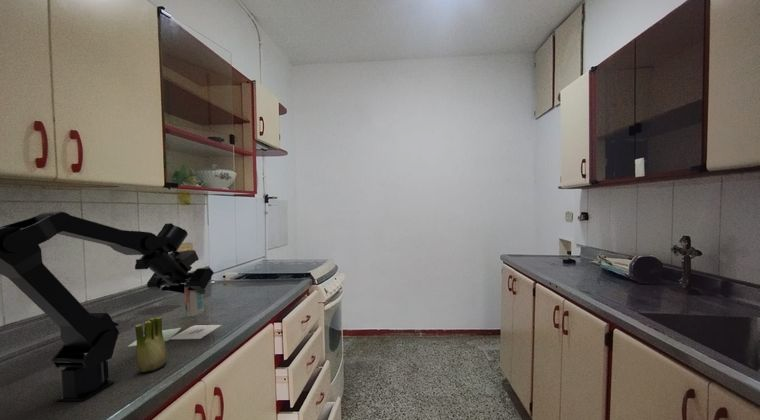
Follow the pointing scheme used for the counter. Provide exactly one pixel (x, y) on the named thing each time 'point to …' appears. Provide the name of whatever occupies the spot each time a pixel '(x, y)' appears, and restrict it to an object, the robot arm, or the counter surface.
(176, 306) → the counter surface
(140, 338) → the fennel bulb
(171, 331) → the sage mat
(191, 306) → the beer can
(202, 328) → the card
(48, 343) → the counter surface
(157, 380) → the counter surface
